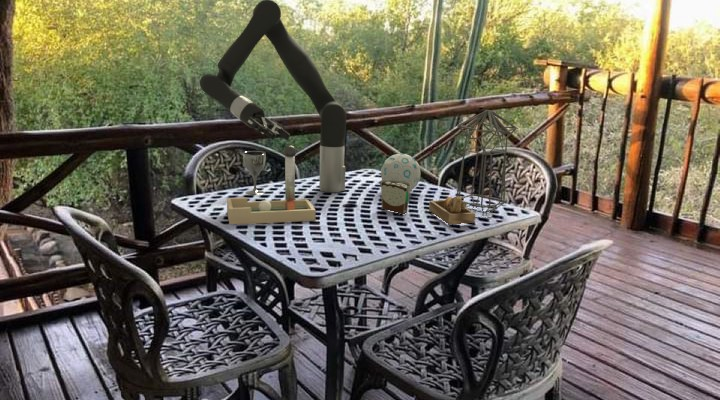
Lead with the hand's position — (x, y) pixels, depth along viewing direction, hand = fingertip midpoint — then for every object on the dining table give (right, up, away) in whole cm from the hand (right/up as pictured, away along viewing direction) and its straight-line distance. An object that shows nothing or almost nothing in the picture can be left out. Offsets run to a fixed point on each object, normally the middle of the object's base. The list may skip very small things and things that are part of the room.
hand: (281, 137), depth 192 cm
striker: (+3, -24, -5) cm, 25 cm away
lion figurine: (+56, -27, -3) cm, 62 cm away
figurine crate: (+56, -27, -2) cm, 62 cm away
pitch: (-3, -26, -7) cm, 27 cm away
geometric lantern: (+66, -26, +4) cm, 71 cm away
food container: (+39, -25, +5) cm, 46 cm away
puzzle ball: (+41, -18, +30) cm, 54 cm away
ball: (-4, -23, -8) cm, 24 cm away
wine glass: (-13, -18, +23) cm, 32 cm away
